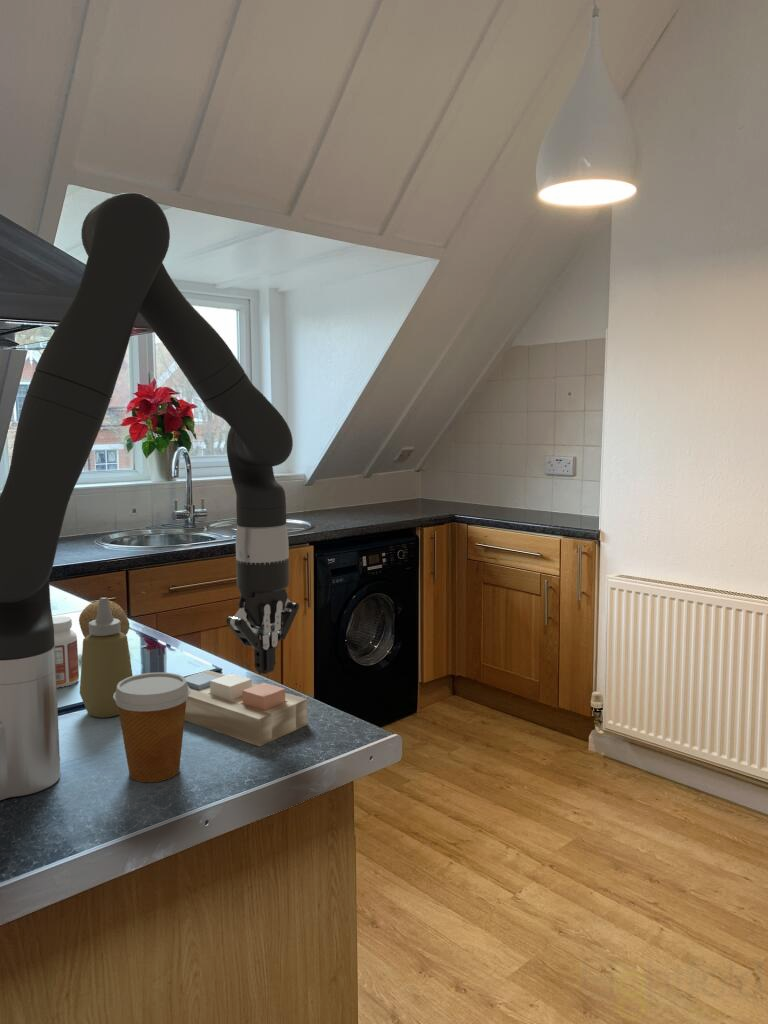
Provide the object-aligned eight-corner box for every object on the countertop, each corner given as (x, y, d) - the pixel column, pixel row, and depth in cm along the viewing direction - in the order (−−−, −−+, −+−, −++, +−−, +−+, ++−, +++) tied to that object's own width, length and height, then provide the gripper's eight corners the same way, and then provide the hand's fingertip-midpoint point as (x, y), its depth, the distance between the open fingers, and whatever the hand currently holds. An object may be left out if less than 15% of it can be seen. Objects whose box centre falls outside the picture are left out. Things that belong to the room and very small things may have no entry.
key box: (259, 746, 116) (258, 719, 115) (158, 711, 129) (158, 686, 128) (307, 724, 124) (307, 699, 123) (208, 693, 137) (207, 670, 136)
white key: (230, 708, 123) (230, 686, 122) (210, 702, 125) (210, 680, 125) (252, 700, 126) (251, 679, 126) (232, 694, 129) (231, 673, 129)
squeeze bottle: (77, 707, 130) (72, 595, 128) (129, 699, 134) (126, 590, 131) (84, 725, 123) (79, 607, 121) (139, 716, 127) (136, 601, 124)
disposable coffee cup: (149, 796, 101) (146, 701, 99) (100, 775, 106) (97, 685, 105) (207, 768, 109) (205, 680, 107) (159, 750, 114) (156, 666, 113)
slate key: (199, 706, 127) (198, 685, 127) (180, 700, 130) (180, 679, 129) (220, 698, 131) (220, 677, 130) (202, 692, 133) (201, 672, 133)
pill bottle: (68, 674, 146) (66, 613, 144) (85, 682, 142) (83, 619, 140) (33, 683, 141) (30, 619, 140) (50, 691, 137) (47, 626, 136)
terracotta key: (264, 719, 119) (263, 696, 118) (242, 712, 121) (242, 690, 121) (285, 710, 122) (285, 688, 122) (264, 704, 125) (263, 682, 124)
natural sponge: (120, 641, 166) (118, 592, 165) (137, 651, 159) (135, 601, 158) (74, 649, 161) (72, 598, 160) (89, 660, 154) (87, 608, 153)
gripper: (247, 566, 111) (250, 690, 114) (312, 551, 122) (314, 665, 124) (209, 559, 116) (213, 679, 118) (276, 546, 126) (278, 656, 128)
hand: (265, 671), depth 121 cm, fingers closed
